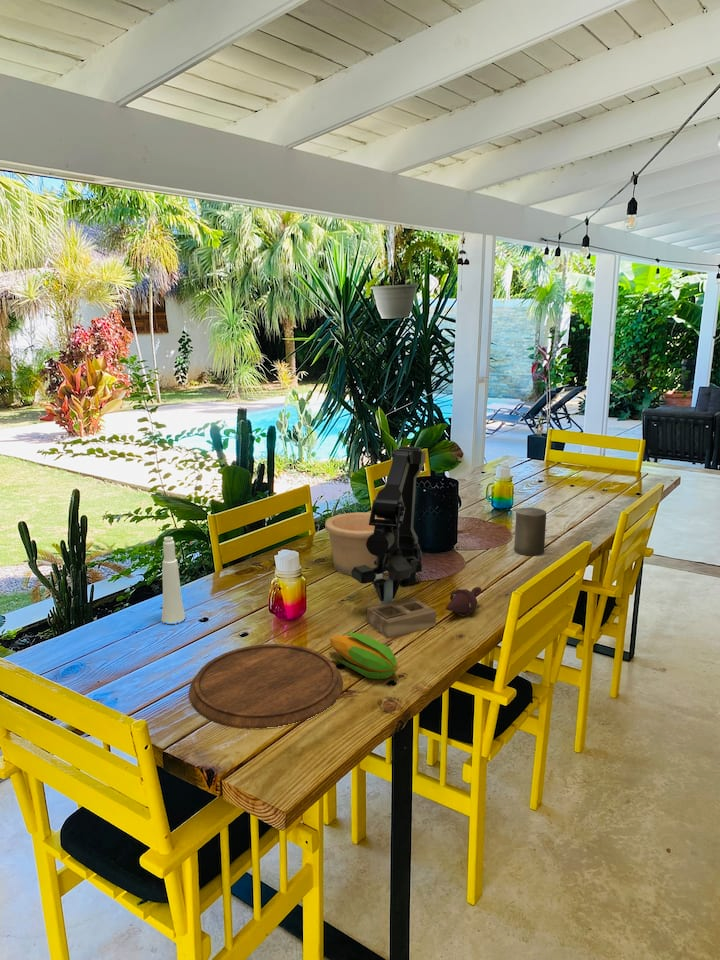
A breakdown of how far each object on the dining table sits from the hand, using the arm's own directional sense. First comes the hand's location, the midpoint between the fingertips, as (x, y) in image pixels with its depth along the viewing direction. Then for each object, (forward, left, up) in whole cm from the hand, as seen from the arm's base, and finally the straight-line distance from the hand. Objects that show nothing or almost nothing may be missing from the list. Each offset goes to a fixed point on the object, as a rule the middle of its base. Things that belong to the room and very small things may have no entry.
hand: (387, 599), depth 188 cm
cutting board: (+21, -43, -3) cm, 48 cm away
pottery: (-31, +10, -3) cm, 33 cm away
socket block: (+10, -2, -2) cm, 10 cm away
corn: (+24, -22, -3) cm, 33 cm away
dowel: (0, 0, -2) cm, 2 cm away
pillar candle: (-16, +65, -3) cm, 67 cm away
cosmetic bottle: (-21, -51, -3) cm, 55 cm away
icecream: (+13, +15, -3) cm, 20 cm away
